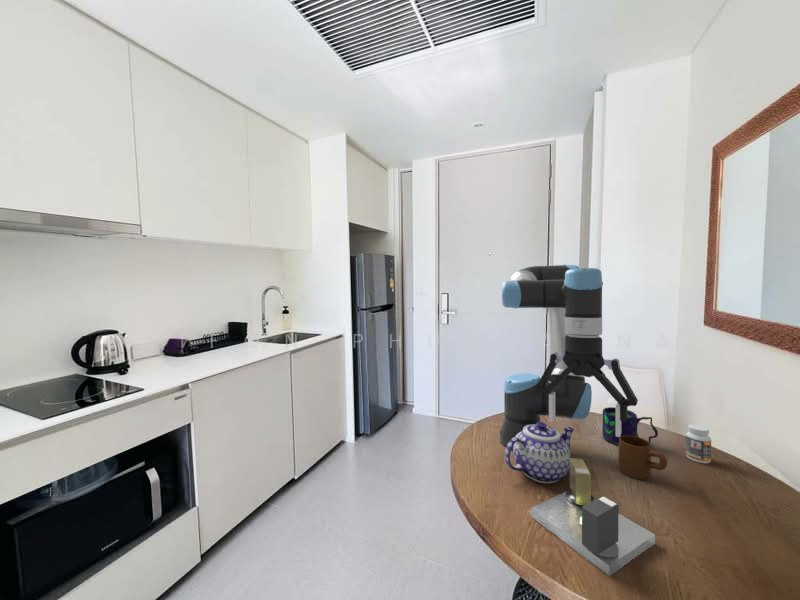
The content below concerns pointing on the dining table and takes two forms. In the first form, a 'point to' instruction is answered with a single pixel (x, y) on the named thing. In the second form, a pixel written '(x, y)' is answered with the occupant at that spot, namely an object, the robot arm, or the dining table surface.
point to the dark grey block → (600, 527)
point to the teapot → (540, 452)
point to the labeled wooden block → (579, 483)
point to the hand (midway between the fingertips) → (583, 426)
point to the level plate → (568, 527)
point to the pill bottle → (698, 444)
